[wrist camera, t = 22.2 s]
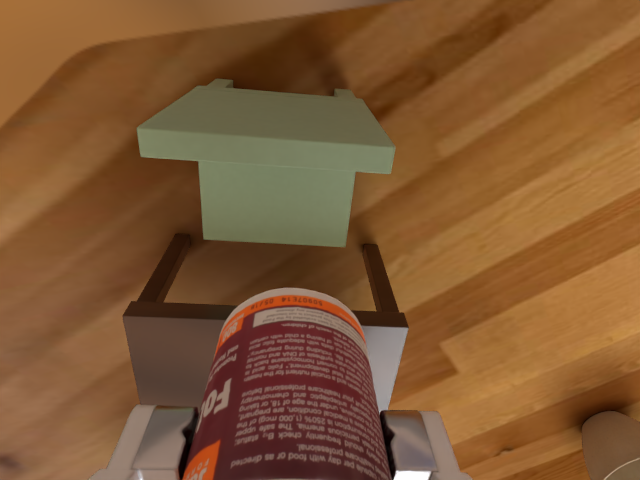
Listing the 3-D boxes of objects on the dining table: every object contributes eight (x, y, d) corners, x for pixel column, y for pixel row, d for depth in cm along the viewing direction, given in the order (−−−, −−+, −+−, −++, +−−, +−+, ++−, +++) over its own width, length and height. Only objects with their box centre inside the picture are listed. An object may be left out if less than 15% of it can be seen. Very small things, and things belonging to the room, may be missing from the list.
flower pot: (620, 449, 52) (663, 508, 46) (548, 446, 51) (582, 506, 45) (660, 398, 47) (715, 456, 41) (582, 394, 46) (626, 452, 40)
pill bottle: (215, 280, 12) (75, 700, 5) (372, 284, 12) (474, 686, 5) (224, 389, 14) (140, 781, 7) (356, 390, 15) (408, 769, 7)
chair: (212, 75, 28) (135, 126, 15) (354, 87, 29) (396, 146, 16) (218, 205, 33) (163, 328, 20) (339, 212, 33) (361, 336, 21)
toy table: (173, 231, 34) (121, 316, 24) (380, 242, 35) (409, 327, 26) (186, 351, 41) (150, 453, 31) (359, 356, 42) (375, 457, 33)
